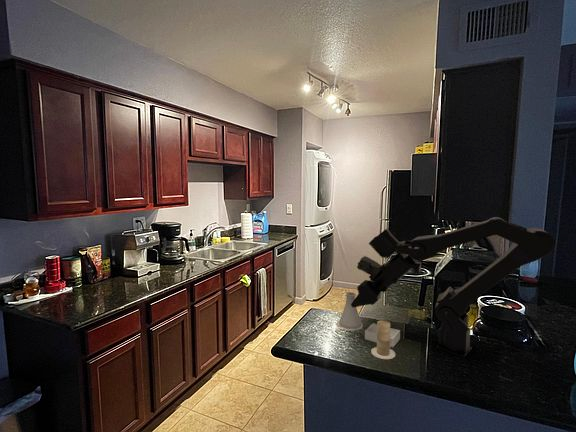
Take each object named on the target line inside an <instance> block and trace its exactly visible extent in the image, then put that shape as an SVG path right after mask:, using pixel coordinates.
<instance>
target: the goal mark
mask: <svg viewBox="0 0 576 432" xmlns="http://www.w3.org/2000/svg"><path fill="white" fill-rule="evenodd" d="M339 321H340V319H339V320H338V321H336V326H337V327H338V328H340V329H342V330H346V331H357V330H360V329H362V328H363V323H362V322H361V324H362V326H361V327H359V328H357V329H352V328H345V327H343V326H340V325H339Z"/></svg>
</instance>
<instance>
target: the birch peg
mask: <svg viewBox="0 0 576 432" xmlns="http://www.w3.org/2000/svg"><path fill="white" fill-rule="evenodd" d="M376 324H377V343H376V347H377V353H378V354H379V355H382V356H388V355H389V354H390V349H391V347H390V328H391V322H390V321H387V320H382V319H381V320H377V323H376Z"/></svg>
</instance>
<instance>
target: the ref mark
mask: <svg viewBox="0 0 576 432" xmlns="http://www.w3.org/2000/svg"><path fill="white" fill-rule="evenodd" d="M370 352H371V354H372V355H373V356H374V357H376V358H378V359H382V360H391V359H394V358H395V357H396V352H395V351H394V350H393V349H391V348H390V354H389V355H388V356H382V355H379V354H378V353H377V346H375V347H372V349H371V351H370Z"/></svg>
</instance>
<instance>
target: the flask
mask: <svg viewBox="0 0 576 432" xmlns="http://www.w3.org/2000/svg"><path fill="white" fill-rule="evenodd" d="M345 296H346V300H345V303H344V304H345V305H344V308H343V310H342V314H341V316H340V319H339V320H340V321H339V320H338V321H339V325H340V326H343V327H345V328H352V329H357V328H359V327H361V326H362V325H363V323H362V321H361V317H360V313H359V312H358V309H357V308H358V307H354V308H353V307H352V306H351V303H352V302H353V301H354V299H355V298H356V296H357V294H356V292H354V291H347V292H345ZM361 323H362V324H361ZM362 327H363V326H362Z"/></svg>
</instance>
